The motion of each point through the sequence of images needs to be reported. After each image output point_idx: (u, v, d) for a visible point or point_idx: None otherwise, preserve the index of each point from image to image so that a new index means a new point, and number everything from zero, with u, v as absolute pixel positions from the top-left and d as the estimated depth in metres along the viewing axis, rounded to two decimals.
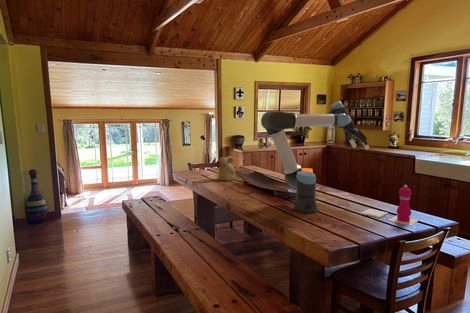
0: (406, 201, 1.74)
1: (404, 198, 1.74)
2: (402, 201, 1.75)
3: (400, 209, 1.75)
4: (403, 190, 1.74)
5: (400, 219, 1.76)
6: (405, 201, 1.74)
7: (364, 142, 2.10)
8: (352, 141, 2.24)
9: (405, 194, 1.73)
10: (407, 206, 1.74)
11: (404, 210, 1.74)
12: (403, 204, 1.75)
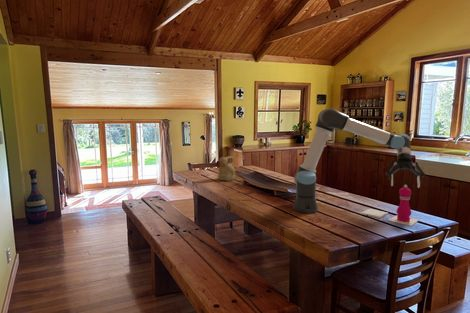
0: (406, 201, 1.74)
1: (404, 198, 1.74)
2: (402, 201, 1.75)
3: (400, 209, 1.75)
4: (403, 190, 1.74)
5: (400, 219, 1.76)
6: (405, 201, 1.74)
7: (420, 177, 1.83)
8: (392, 178, 1.88)
9: (405, 194, 1.73)
10: (407, 206, 1.74)
11: (404, 210, 1.74)
12: (403, 204, 1.75)
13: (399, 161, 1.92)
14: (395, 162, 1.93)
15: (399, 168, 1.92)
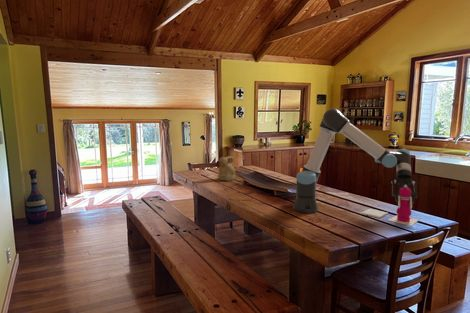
0: (406, 201, 1.74)
1: (404, 198, 1.74)
2: (402, 201, 1.75)
3: (400, 209, 1.75)
4: (403, 190, 1.74)
5: (400, 219, 1.76)
6: (405, 201, 1.74)
7: (413, 198, 1.74)
8: (399, 199, 1.77)
9: (405, 194, 1.73)
10: (407, 206, 1.74)
11: (404, 210, 1.74)
12: (403, 204, 1.75)
13: (398, 177, 1.84)
14: (394, 180, 1.84)
15: None
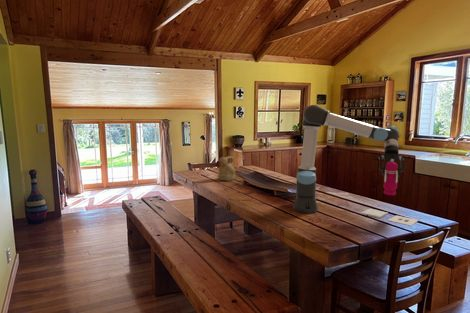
0: (392, 175, 1.78)
1: (390, 172, 1.78)
2: (388, 175, 1.79)
3: (386, 182, 1.80)
4: (389, 164, 1.78)
5: (386, 192, 1.80)
6: (391, 175, 1.79)
7: (399, 172, 1.78)
8: None
9: (391, 168, 1.77)
10: (393, 180, 1.79)
11: (390, 184, 1.78)
12: (390, 178, 1.79)
13: (385, 153, 1.88)
14: (382, 155, 1.88)
15: None
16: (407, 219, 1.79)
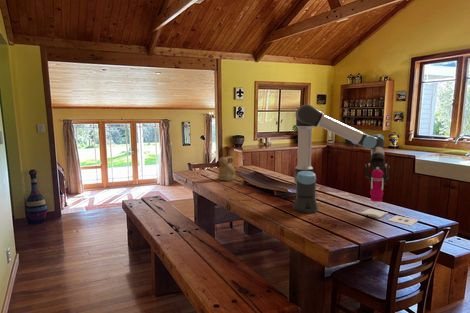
0: (378, 182, 1.85)
1: (376, 179, 1.84)
2: (374, 182, 1.86)
3: (373, 190, 1.86)
4: (375, 172, 1.84)
5: (373, 199, 1.86)
6: (377, 182, 1.85)
7: (384, 179, 1.85)
8: (372, 181, 1.87)
9: (377, 175, 1.83)
10: (379, 187, 1.85)
11: (376, 191, 1.84)
12: (376, 185, 1.85)
13: (371, 161, 1.94)
14: (368, 163, 1.94)
15: None
16: (407, 219, 1.79)
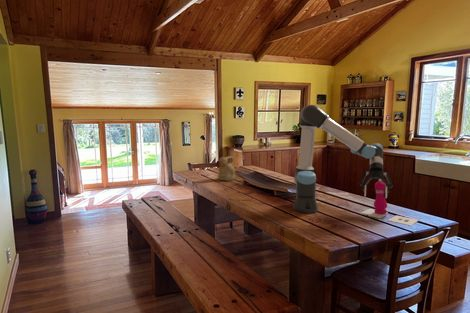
0: (381, 194, 1.85)
1: (379, 191, 1.85)
2: (378, 194, 1.86)
3: (376, 202, 1.86)
4: (378, 184, 1.85)
5: (377, 212, 1.86)
6: (380, 194, 1.85)
7: (388, 188, 1.85)
8: None
9: (380, 188, 1.84)
10: (383, 199, 1.85)
11: (380, 203, 1.84)
12: (379, 197, 1.85)
13: (371, 170, 1.95)
14: (367, 172, 1.96)
15: (371, 177, 1.94)
16: (407, 219, 1.79)
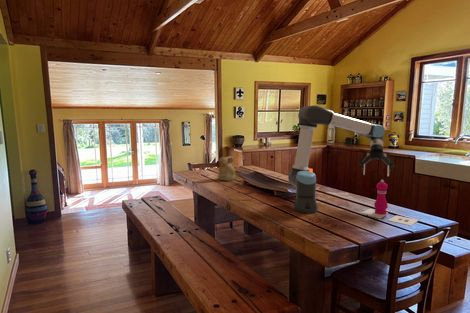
0: (383, 195, 1.85)
1: (381, 192, 1.84)
2: (379, 195, 1.85)
3: (377, 202, 1.86)
4: (380, 184, 1.84)
5: (377, 212, 1.86)
6: (382, 195, 1.85)
7: (390, 166, 1.95)
8: None
9: (381, 188, 1.83)
10: (384, 200, 1.85)
11: (381, 203, 1.84)
12: (380, 198, 1.85)
13: (372, 152, 2.05)
14: (368, 153, 2.06)
15: (371, 158, 2.05)
16: (407, 219, 1.79)
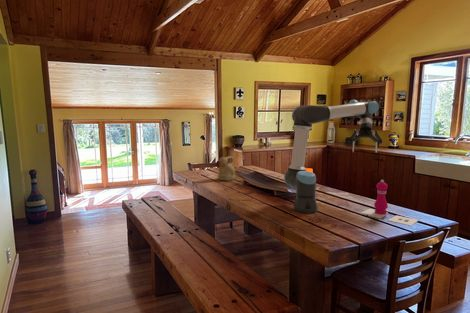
0: (383, 195, 1.85)
1: (381, 192, 1.84)
2: (379, 195, 1.85)
3: (377, 202, 1.86)
4: (380, 184, 1.84)
5: (377, 212, 1.86)
6: (382, 195, 1.85)
7: (378, 143, 2.02)
8: None
9: (381, 188, 1.83)
10: (384, 200, 1.85)
11: (381, 203, 1.84)
12: (380, 198, 1.85)
13: (361, 130, 2.11)
14: (357, 131, 2.12)
15: (361, 136, 2.11)
16: (407, 219, 1.79)
